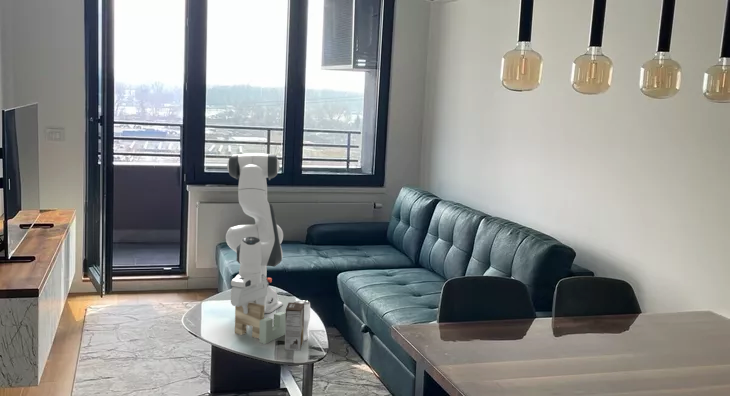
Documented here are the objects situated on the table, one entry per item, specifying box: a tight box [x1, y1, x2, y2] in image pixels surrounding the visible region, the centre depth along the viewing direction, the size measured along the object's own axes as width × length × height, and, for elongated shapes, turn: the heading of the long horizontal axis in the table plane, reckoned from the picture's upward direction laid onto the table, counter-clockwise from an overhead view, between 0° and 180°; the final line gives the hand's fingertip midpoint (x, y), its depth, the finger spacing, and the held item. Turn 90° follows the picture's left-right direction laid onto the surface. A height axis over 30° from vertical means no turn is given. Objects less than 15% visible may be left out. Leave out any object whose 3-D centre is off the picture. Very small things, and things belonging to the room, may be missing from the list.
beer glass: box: [293, 300, 311, 343], centre depth 275 cm, size 7×7×15 cm
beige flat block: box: [234, 302, 265, 339], centre depth 277 cm, size 3×12×13 cm, turn 63°
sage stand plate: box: [259, 311, 286, 345], centre depth 275 cm, size 14×3×9 cm, turn 153°
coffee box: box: [284, 302, 304, 351], centre depth 267 cm, size 9×6×16 cm
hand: (249, 311), depth 277 cm, fingers closed on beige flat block, 3 cm apart
